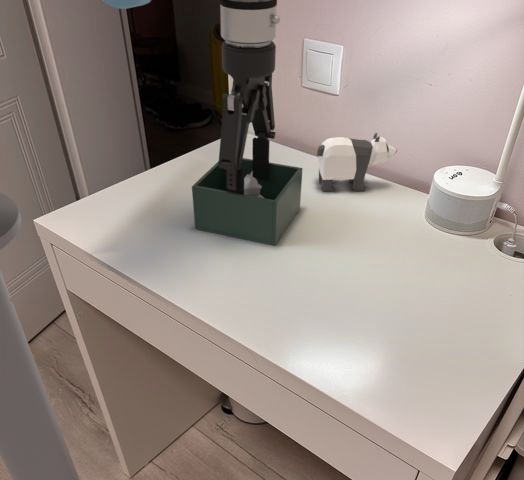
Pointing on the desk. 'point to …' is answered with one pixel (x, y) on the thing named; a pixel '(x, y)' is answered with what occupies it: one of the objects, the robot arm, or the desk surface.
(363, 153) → the giant panda
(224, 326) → the desk surface
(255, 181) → the grey toy figure
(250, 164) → the bin
